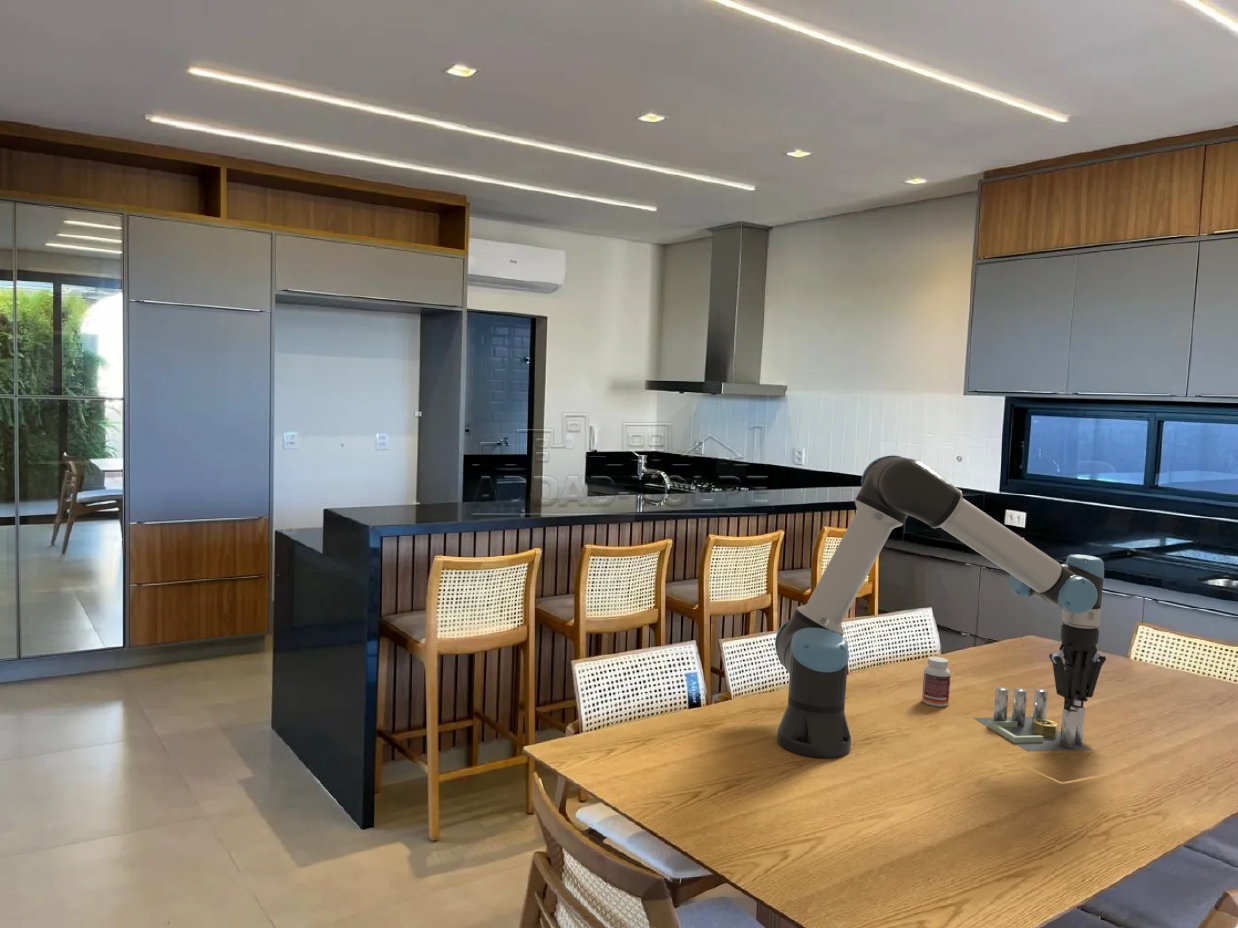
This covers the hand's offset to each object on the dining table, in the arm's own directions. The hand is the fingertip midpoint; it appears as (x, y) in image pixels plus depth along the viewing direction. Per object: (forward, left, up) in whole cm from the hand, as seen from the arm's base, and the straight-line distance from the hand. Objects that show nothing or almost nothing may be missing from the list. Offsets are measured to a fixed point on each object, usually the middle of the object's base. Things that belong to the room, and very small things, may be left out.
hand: (1071, 727), depth 200 cm
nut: (-7, 0, -1) cm, 7 cm away
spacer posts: (-9, 0, -1) cm, 9 cm away
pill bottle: (-21, +22, -2) cm, 30 cm away
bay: (-14, 0, -2) cm, 14 cm away
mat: (-10, 0, -2) cm, 10 cm away
